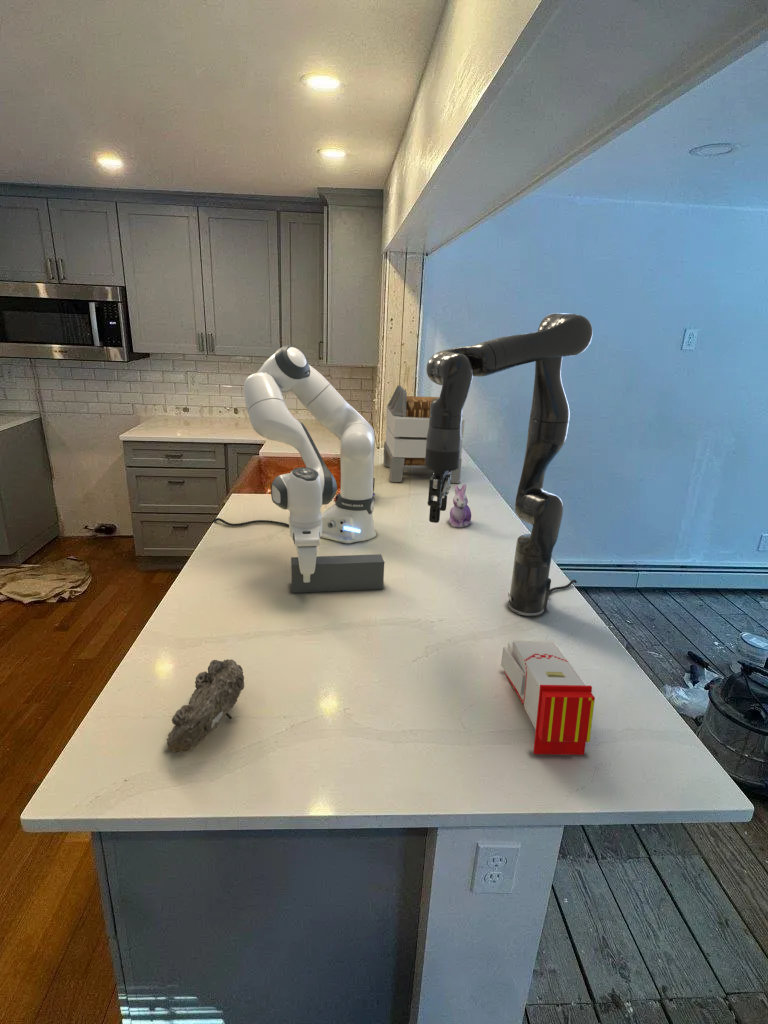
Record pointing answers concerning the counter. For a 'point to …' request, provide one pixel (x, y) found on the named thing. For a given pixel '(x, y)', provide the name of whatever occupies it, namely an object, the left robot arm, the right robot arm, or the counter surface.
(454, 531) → the counter surface
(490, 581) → the counter surface
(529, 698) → the toy
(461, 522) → the figurine
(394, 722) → the counter surface
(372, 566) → the bar
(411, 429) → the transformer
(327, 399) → the left robot arm
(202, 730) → the fossil
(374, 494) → the figurine character
